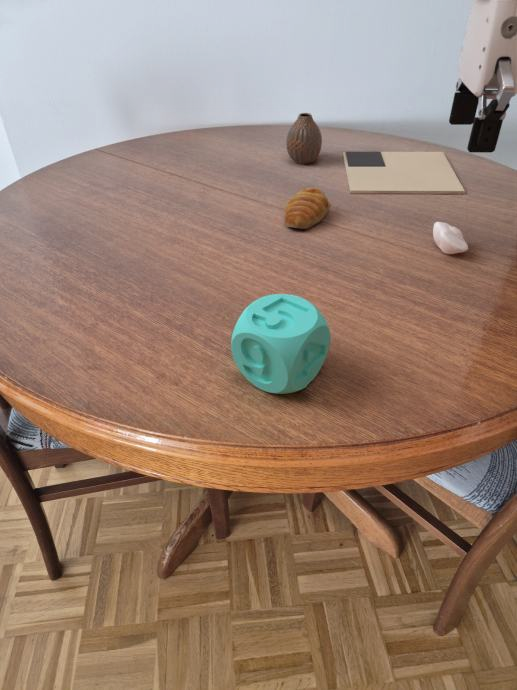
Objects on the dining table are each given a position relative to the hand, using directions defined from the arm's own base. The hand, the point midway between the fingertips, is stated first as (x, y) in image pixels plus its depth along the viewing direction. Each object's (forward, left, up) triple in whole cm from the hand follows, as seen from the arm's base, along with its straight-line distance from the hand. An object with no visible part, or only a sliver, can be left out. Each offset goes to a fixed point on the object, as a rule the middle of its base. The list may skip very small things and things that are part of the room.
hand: (470, 137), depth 70 cm
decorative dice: (+24, +26, -17) cm, 39 cm away
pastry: (+20, -11, -17) cm, 29 cm away
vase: (+20, -35, -17) cm, 44 cm away
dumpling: (-1, -1, -17) cm, 17 cm away
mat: (+2, -29, -17) cm, 34 cm away
